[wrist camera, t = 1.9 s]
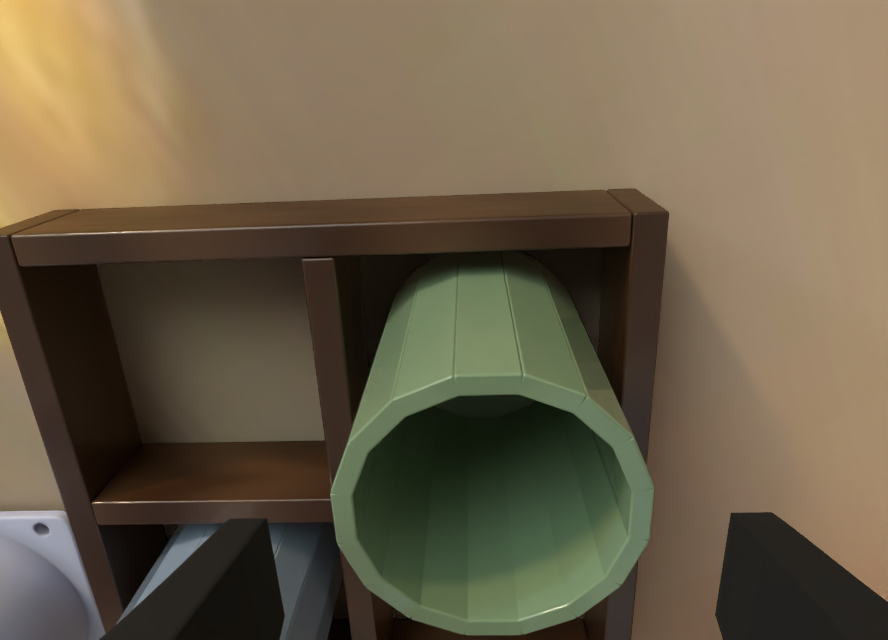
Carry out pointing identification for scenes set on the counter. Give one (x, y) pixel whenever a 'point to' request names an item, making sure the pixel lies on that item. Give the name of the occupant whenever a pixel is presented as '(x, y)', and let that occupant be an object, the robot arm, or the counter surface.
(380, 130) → the counter surface
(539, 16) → the counter surface
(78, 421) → the cup holder
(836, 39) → the counter surface
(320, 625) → the cup
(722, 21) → the counter surface
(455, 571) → the cup
